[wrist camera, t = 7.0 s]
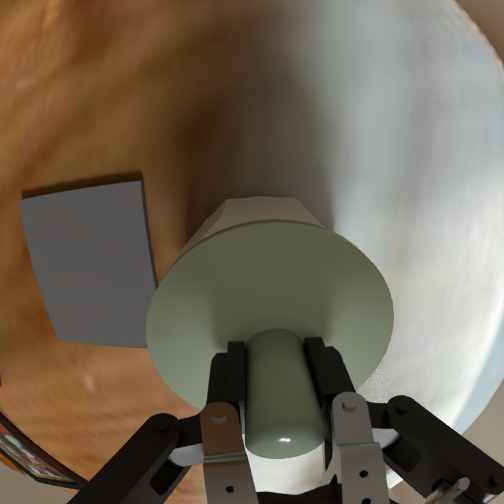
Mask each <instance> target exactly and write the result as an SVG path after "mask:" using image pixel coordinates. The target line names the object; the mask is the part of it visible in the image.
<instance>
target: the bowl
mask: <svg viewBox="0 0 504 504" xmlns="http://www.w3.org/2000/svg"><path fill="white" fill-rule="evenodd" d="M269 219H282V220H295V221H301V222H306V223H311V224H314V225H317V226H320V227H323V228H325V227H324V226H323V225H322V224H321V223H320V222H319V221H318V220H317V218H316V217H315V216H314V215H313V214H312V213H311V212H310V211H309V210H308V209H307V208H306V207H305V206H304V205H303V204H302V203H301V202H300V201H299V200H298V199H297V198H295V197H273V196H252V197H246V198H242V199H227V200H225V201H224V202H223V203H222V204H221V205H220V206H219V208H218V209H217V210H216V211H215V212H214V213H213V214H212V215H211V216H209V217H208V218H207V219H206V220H205V222H204V223H203V224H202V225H201V227H200V228H199V229H198V231H197V232H196V233H195V234H194V235H193V236H192V237H191V239H190V240H189V241H188V242H187V243H186V244H185V245H184V247H183V248H182V250H181V252H180V254H179V256H178V258H179V257H180V256H181V255H182V254H183V253H184V252H185V251H186V250H188V249H189V248H191V247H192V246H193V245H195V244H196V243H197V242H199V241H200V240H202V239H204V238H206V237H208V236H210V235H212V234H213V233H215V232H217V231H220V230H223V229H226V228H228V227H231V226H234V225H238V224H242V223H246V222H251V221H258V220H269ZM178 258H177V259H178Z"/></svg>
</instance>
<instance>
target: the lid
mask: <svg viewBox="0 0 504 504" xmlns="http://www.w3.org/2000/svg"><path fill="white" fill-rule="evenodd" d="M393 320H394V312H393V302H392V298H391V295H390V291H389V288H388V286H387V284H386V282H385V280H384V278H383V276H382V275H381V273H380V272H379V270H378V269H377V267H376V266H375V265H374V264H373V263H372V262H371V261H370V260H369V259H368V258H367V257H366V256H365V255H364V254H363V253H362V252H361V251H360V250H359V249H358V248H357V247H356V246H355V245H354V244H353V243H351V242H350V241H348V240H347V239H346V238H344V237H343V236H341V235H339V234H337V233H335V232H333V231H331V230H329V229H326V228H323V227H320V226H317V225H314V224H311V223H306V222H301V221H295V220H282V219H269V220H258V221H251V222H246V223H242V224H238V225H234V226H231V227H228V228H226V229H223V230H220V231H217V232H215V233H213V234H212V235H210V236H208V237H206V238H204V239H202V240H200V241H199V242H197V243H196V244H195V245H193V246H192V247H191V248H189V249H188V250H186V251H185V252H184V253H183V254H182V255H181V256H180V257H179V258H178V259H177V260H176V261H175V262H174V263H173V265H172V266H171V267H170V269H169V270H168V271H167V272H166V274H165V275H164V277H163V279H162V281H161V283H160V284H159V286H158V288H157V290H156V292H155V294H154V296H153V298H152V300H151V303H150V306H149V310H148V313H147V320H146V342H147V347H148V352H149V354H150V357H151V360H152V362H153V365H154V366H155V368H156V370H157V372H158V373H159V375H160V376H161V378H162V379H163V380H164V382H165V383H166V384H167V385H168V386H169V387H170V388H171V389H172V390H173V391H174V392H175V393H176V394H177V395H178V396H180V397H181V398H182V399H183V400H185V401H186V402H188V403H189V404H191V405H192V406H194V407H196V408H198V409H200V410H202V409H203V408H204V407H205V405H206V401H207V392H208V383H209V375H210V366H211V360H212V358H213V357H214V356H215V354H216V353H225V352H227V349H228V341H244V348H245V401H246V414H245V446H246V448H247V449H248V450H249V451H250V452H251V453H253V454H255V455H257V456H260V457H264V458H270V459H284V458H291V457H296V456H300V455H303V454H306V453H308V452H310V451H312V450H314V449H316V448H317V447H318V446H320V445H321V444H322V443H323V441H324V440H325V438H326V435H327V433H326V428H325V424H324V420H323V417H322V413H321V409H320V405H319V401H318V398H317V394H316V390H315V386H314V382H313V379H312V375H311V371H310V368H309V364H308V360H307V357H306V353H305V349H304V339H305V338H307V337H319V336H321V337H322V339H323V342H324V345H325V347H327V346H333V347H334V348H335V349H337V350H338V351H339V352H340V354H341V356H342V359H343V362H344V364H345V366H346V369H347V371H348V373H349V376H350V378H351V381H352V383H353V386H354V388H355V391H356V390H357V389H358V388H359V387H360V386H361V385H363V384H364V383H365V382H366V380H367V379H368V378H369V377H370V376H371V375H372V374H373V372H374V371H375V369H376V368H377V367H378V365H379V364H380V362H381V360H382V358H383V356H384V354H385V353H386V350H387V348H388V345H389V342H390V339H391V335H392V330H393Z"/></svg>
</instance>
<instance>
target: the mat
mask: <svg viewBox="0 0 504 504" xmlns="http://www.w3.org/2000/svg"><path fill="white" fill-rule="evenodd" d="M19 206H20V212H21V218H22V223H23V228H24V232H25V237H26V241H27V246H28V250H29V254H30V257H31V261H32V265H33V268H34V272H35V275H36V279H37V282H38V285H39V288H40V291H41V294H42V297H43V300H44V303H45V306H46V309H47V311H48V314H49V317H50V319H51V322H52V324H53V327H54V329H55V332H56V334H57V336H58V339H59V340H60V341H67V342H75V343H84V344H93V345H104V346H116V347H130V348H148V347H147V342H146V320H147V313H148V310H149V306H150V303H151V300H152V298H153V296H154V294H155V292H156V290H157V288H158V284H157V279H156V273H155V267H154V261H153V255H152V248H151V242H150V235H149V227H148V219H147V211H146V203H145V193H144V183H143V180H137V181H129V182H120V183H113V184H105V185H98V186H91V187H85V188H78V189H72V190H66V191H60V192H55V193H49V194H44V195H39V196H34V197H29V198H24V199H21V200H19Z"/></svg>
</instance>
